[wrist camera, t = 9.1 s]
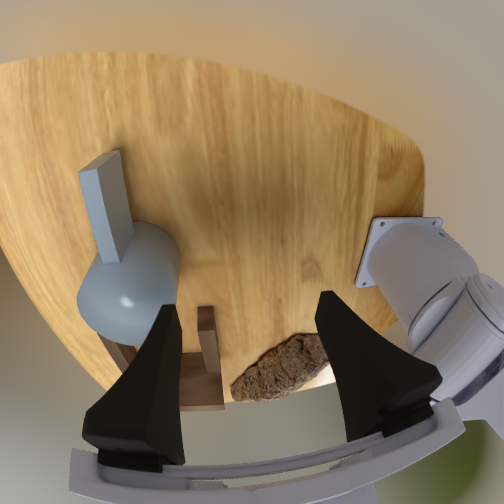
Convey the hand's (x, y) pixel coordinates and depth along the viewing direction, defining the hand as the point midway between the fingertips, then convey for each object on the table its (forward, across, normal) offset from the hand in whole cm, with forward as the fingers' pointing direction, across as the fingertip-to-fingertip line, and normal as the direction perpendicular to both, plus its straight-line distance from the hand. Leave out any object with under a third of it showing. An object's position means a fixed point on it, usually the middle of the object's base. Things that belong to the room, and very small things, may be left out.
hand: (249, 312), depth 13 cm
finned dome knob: (+10, +8, 0) cm, 12 cm away
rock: (+10, -6, +22) cm, 25 cm away
